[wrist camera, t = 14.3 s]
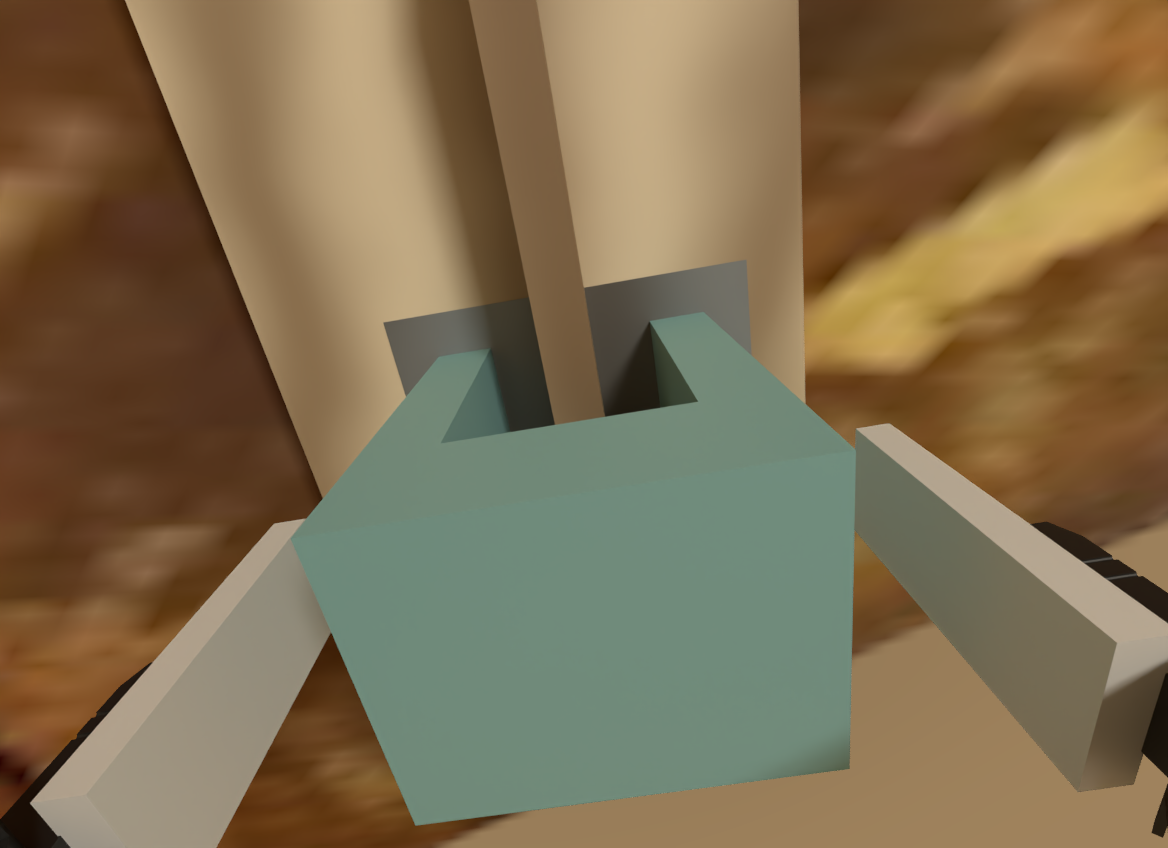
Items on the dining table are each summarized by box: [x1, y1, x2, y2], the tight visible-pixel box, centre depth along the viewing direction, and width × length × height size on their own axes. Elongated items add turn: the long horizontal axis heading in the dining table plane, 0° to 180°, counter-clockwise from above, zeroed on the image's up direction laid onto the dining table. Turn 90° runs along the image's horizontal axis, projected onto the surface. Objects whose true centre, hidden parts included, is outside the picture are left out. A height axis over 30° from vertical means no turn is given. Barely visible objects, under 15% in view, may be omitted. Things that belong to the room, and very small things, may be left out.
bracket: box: [290, 312, 856, 826], centre depth 13 cm, size 8×6×9 cm
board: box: [125, 0, 805, 498], centre depth 13 cm, size 15×32×5 cm, turn 10°
